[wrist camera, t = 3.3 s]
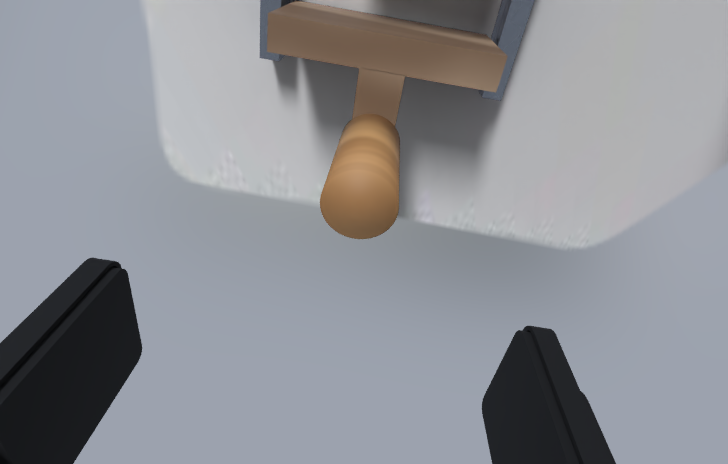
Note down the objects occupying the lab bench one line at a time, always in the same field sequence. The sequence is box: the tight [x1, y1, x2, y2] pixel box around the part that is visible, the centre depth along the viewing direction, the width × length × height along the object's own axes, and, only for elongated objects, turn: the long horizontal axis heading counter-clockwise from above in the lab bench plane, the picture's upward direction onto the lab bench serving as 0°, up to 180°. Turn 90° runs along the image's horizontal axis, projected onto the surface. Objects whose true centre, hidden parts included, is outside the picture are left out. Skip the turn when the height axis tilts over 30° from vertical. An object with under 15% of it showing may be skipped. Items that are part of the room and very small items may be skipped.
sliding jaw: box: [267, 0, 508, 239], centre depth 19 cm, size 6×10×12 cm, turn 81°
